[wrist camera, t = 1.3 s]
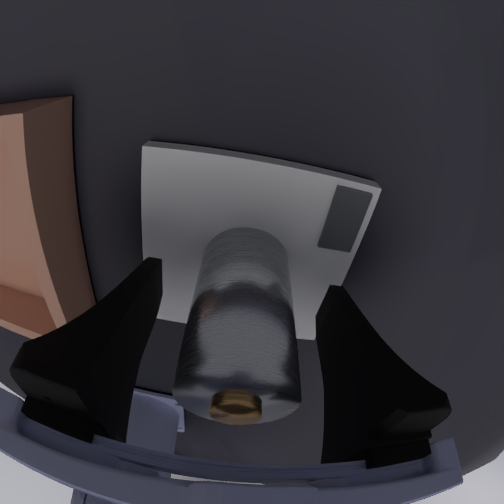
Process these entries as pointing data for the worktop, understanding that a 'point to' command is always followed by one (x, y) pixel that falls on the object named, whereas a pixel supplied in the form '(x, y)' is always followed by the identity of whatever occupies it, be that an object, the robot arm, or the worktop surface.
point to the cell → (240, 333)
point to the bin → (40, 219)
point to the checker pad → (250, 219)
